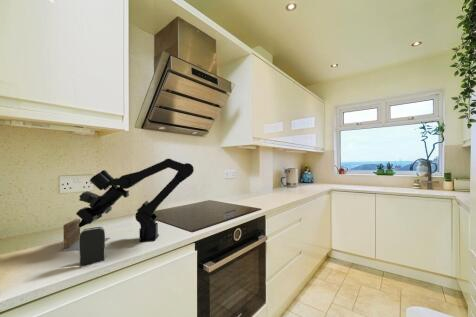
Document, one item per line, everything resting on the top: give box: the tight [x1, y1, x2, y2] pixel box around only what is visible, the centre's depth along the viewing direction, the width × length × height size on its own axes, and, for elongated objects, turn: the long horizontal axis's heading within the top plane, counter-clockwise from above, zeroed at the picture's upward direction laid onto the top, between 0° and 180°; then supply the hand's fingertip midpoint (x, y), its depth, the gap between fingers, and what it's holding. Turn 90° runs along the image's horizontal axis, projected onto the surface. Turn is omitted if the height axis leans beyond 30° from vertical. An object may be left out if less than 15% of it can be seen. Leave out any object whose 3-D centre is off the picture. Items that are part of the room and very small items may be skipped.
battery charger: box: [79, 226, 106, 267], centre depth 69 cm, size 7×4×11 cm, turn 124°
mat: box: [57, 237, 111, 252], centre depth 83 cm, size 13×12×1 cm
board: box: [63, 218, 81, 249], centre depth 83 cm, size 2×8×9 cm, turn 12°
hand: (79, 226), depth 83 cm, fingers closed
